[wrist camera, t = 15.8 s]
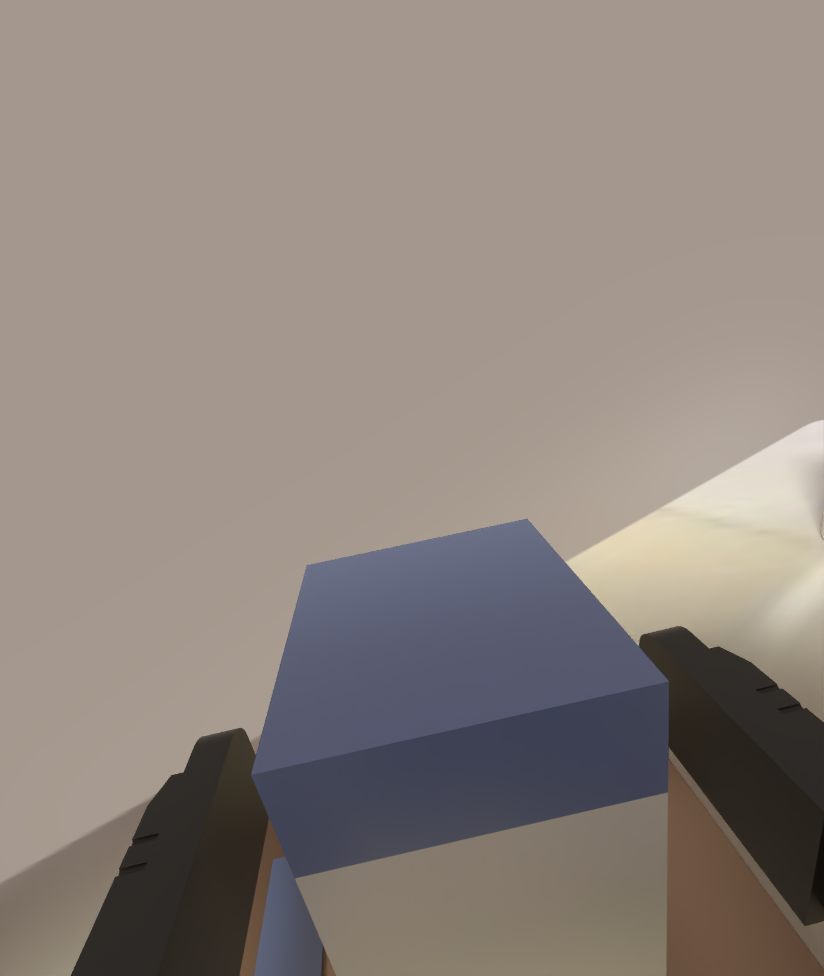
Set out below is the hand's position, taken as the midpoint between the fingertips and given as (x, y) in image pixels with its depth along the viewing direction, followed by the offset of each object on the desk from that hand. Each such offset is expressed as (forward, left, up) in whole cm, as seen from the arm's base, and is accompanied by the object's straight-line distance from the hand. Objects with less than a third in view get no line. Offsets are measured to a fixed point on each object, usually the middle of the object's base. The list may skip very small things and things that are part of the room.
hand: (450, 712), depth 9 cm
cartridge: (0, -2, -8) cm, 8 cm away
